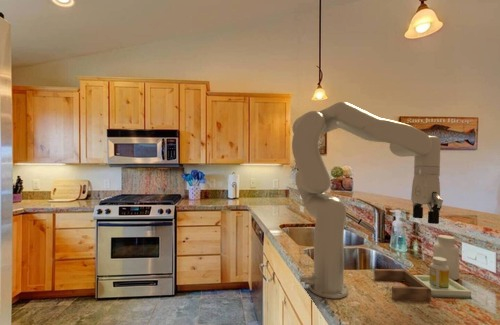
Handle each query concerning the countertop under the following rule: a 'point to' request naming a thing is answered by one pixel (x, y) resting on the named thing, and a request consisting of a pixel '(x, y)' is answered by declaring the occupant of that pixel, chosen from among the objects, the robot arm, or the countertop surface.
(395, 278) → the bay
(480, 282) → the countertop surface
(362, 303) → the countertop surface
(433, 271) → the supplement bottle
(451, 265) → the pill bottle
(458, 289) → the tray
